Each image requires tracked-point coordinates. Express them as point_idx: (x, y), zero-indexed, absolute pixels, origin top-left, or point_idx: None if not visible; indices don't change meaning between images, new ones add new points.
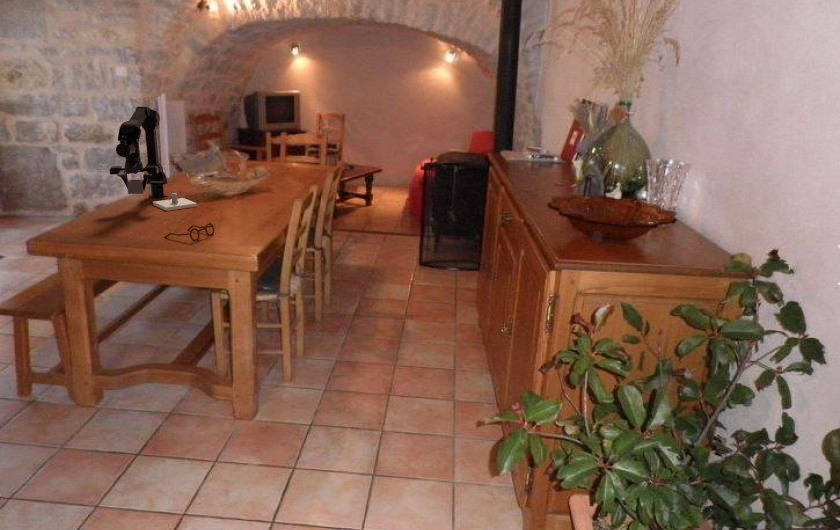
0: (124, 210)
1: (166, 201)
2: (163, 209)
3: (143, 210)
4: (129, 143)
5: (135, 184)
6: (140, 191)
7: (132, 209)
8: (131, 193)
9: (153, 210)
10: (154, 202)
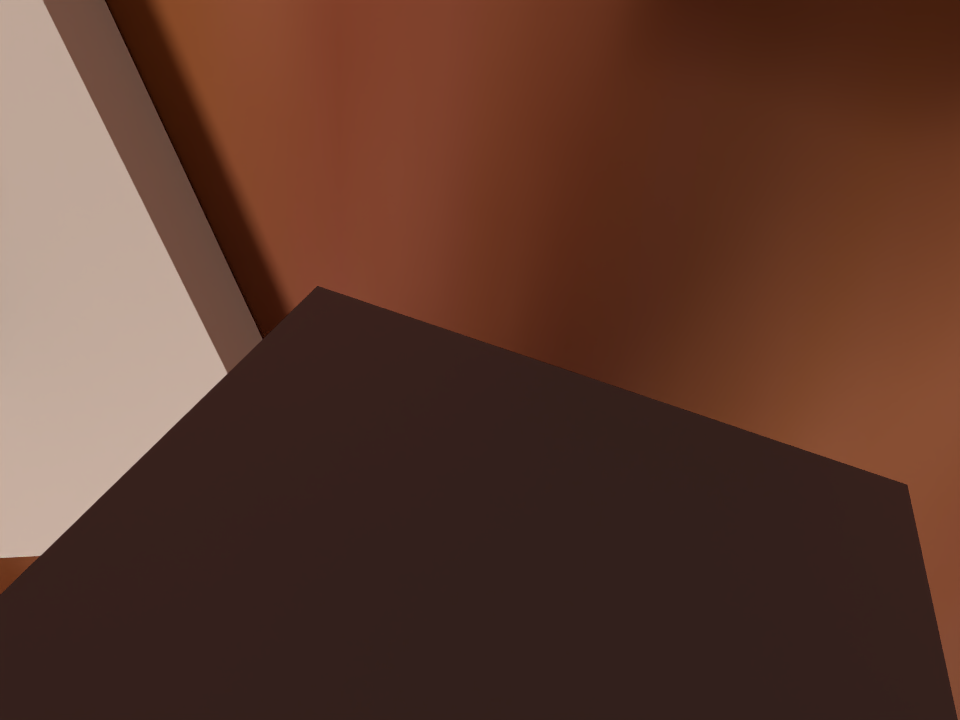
0: (953, 314)
1: (92, 457)
2: (128, 52)
3: (534, 137)
4: None
5: (430, 713)
6: (368, 364)
7: (749, 335)
8: (763, 442)
9: (324, 48)
10: None
